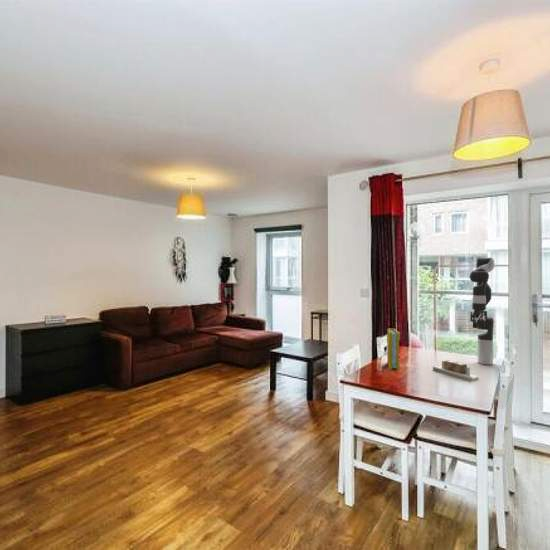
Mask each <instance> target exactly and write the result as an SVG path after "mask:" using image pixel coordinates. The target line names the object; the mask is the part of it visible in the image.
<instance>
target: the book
mask: <svg viewBox="0 0 550 550" xmlns="http://www.w3.org/2000/svg"><path fill="white" fill-rule="evenodd" d="M386 331H387V332H386V333H387V334H386V344H387V346H386V347H387V349H386V350H387V354H386V355H387V366H388V369H389V370H393V369H396V370H397V371H400V369H401V368H400V366H401V363H400V340H401V339H400V338H401V333H400V331H398V329H396V328H390V327H389V328H387V330H386Z"/></svg>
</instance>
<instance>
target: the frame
mask: <svg viewBox="0 0 550 550" xmlns="http://www.w3.org/2000/svg"><path fill="white" fill-rule="evenodd" d="M444 361H445V369H446V370H450V371H453V372H457V373H460V374H466V367H468V364H466V363H463V362H460V361H459V362H458V361H455V360H452V359H449V360H444Z"/></svg>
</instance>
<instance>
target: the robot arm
mask: <svg viewBox="0 0 550 550" xmlns="http://www.w3.org/2000/svg"><path fill="white" fill-rule="evenodd" d="M475 268H476V269H475V270H472V271H471V272H470V273H469V280H470V282H471V283H472V282H473V283H476V285H475V286H473V287H472V299H471V300H472V301H471V303H472V305H471V308H472V310H473V311H470V318H469V319H470V321H469V322H472V328H473V329H477V330H483V331H486V332H483V333H479V334H478V335H477V363H478V364H480V365H485V364H486V366H488V365H489V366H490V365H491V364H492V365H493V364H494V318H493V317H492V316H491V317H490V316H488V311H487V310H486V309H487V305H488V304H489V303H490V301H491V300H492V288H491V286H490V284H489V283H488V282H489V278H490V274H489V273H490V272H491V271H493V270H494V269H495V259H494V258H492V257H477V258H476V261H475Z"/></svg>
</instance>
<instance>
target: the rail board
mask: <svg viewBox="0 0 550 550" xmlns="http://www.w3.org/2000/svg"><path fill="white" fill-rule="evenodd" d="M445 361H446V360H441V365H440V366H436V365H433V366H432V370H433V371H435V372H438V373H442V374H446V375H447V376H451V377H454V378H459V379H462V380H466V381H469V382H473V381H477V380H479V376H478V375H474V374H471V367H469V366H467V367H466V374H460V373H457V372H453V371H450V370H446V369H445Z"/></svg>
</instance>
